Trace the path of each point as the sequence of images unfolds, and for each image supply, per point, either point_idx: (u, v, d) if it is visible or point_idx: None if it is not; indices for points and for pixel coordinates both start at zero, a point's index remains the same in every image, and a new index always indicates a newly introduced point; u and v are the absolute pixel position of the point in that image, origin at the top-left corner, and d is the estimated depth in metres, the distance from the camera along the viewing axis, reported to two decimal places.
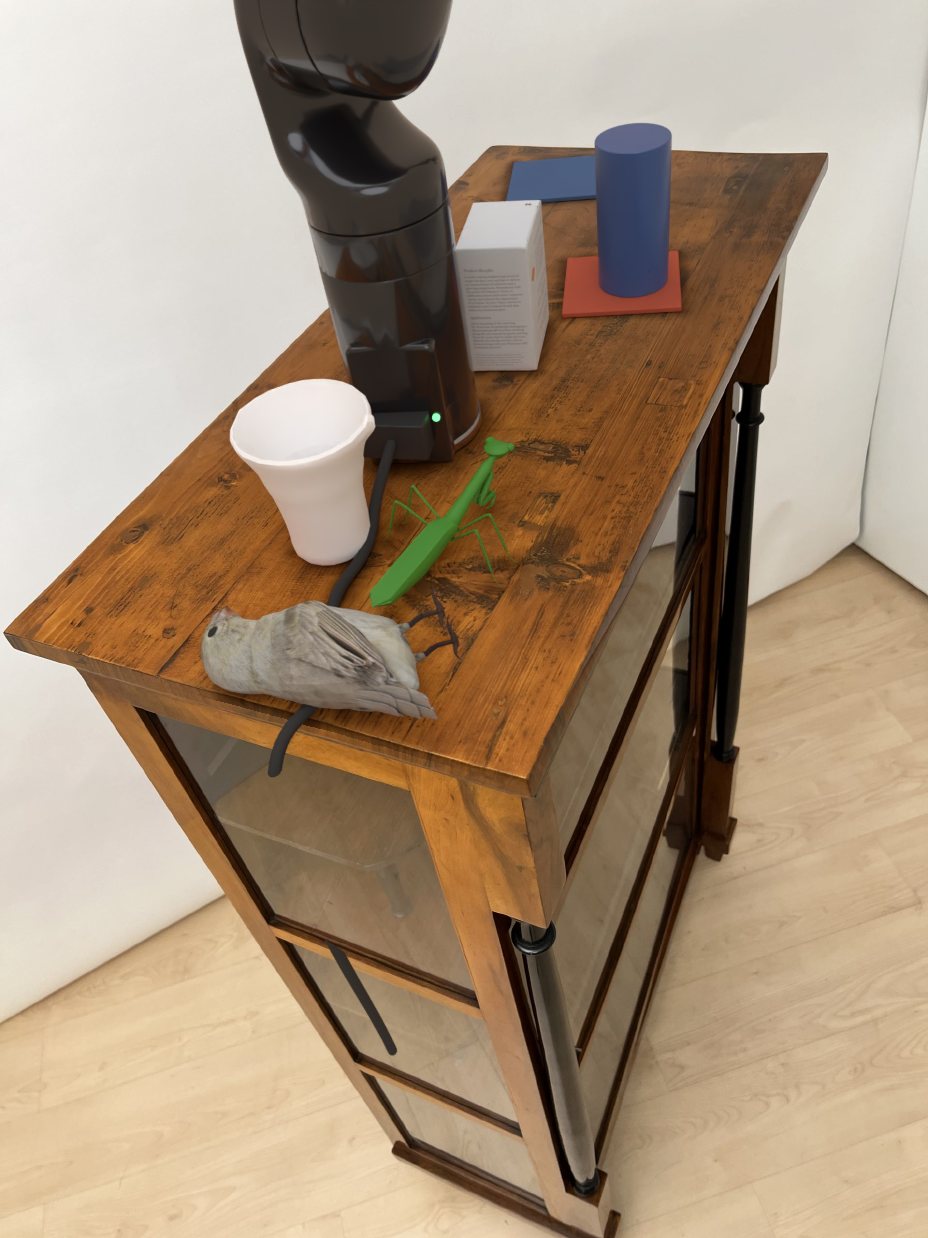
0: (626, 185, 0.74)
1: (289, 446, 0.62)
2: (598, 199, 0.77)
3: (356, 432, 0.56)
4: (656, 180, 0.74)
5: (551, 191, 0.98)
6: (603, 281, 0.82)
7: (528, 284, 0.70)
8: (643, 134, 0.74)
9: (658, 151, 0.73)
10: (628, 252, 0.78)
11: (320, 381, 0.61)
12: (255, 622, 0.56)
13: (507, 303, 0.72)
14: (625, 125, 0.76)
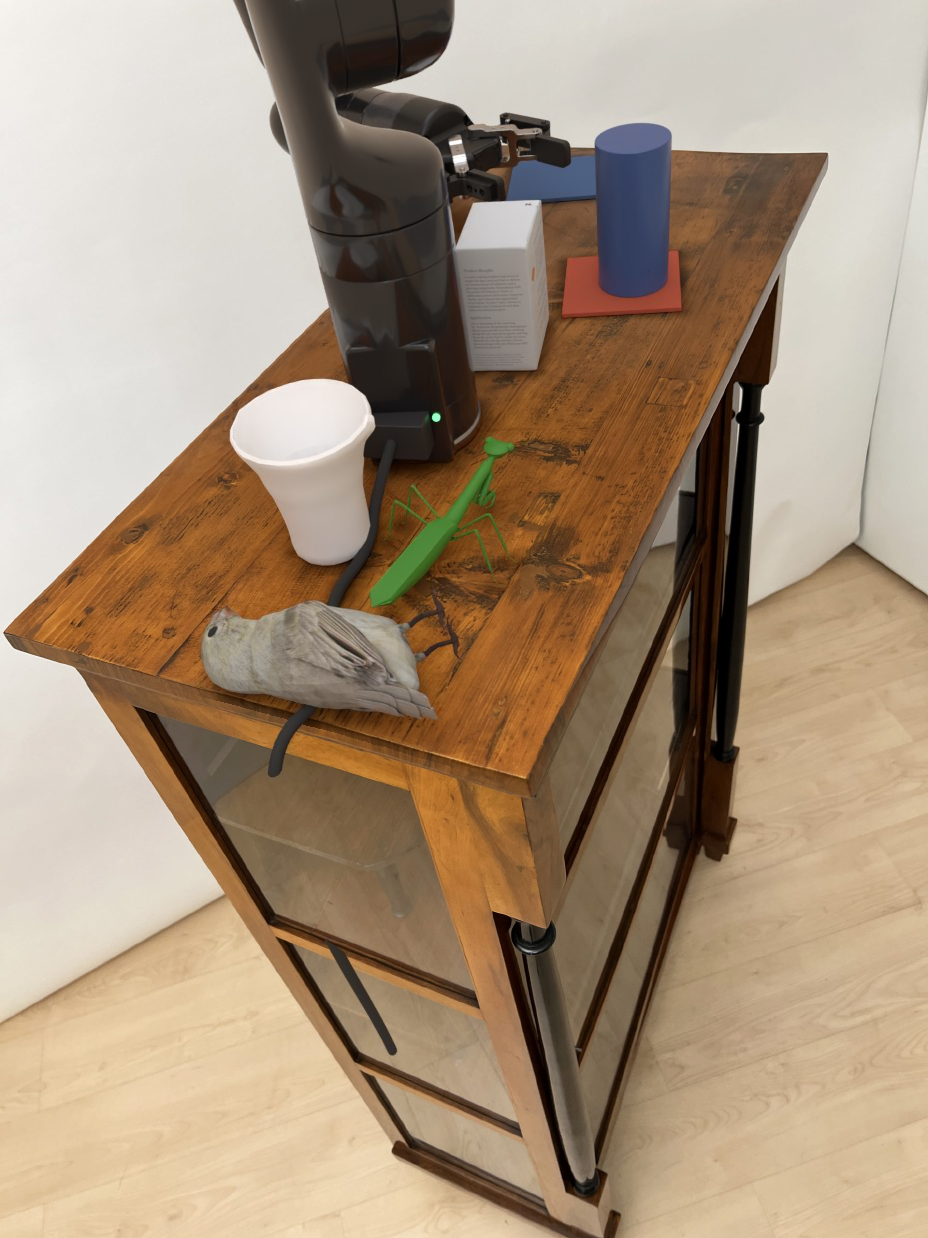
0: (626, 185, 0.74)
1: (289, 446, 0.62)
2: (598, 199, 0.77)
3: (356, 432, 0.56)
4: (656, 180, 0.74)
5: (551, 191, 0.98)
6: (603, 281, 0.82)
7: (528, 284, 0.70)
8: (643, 134, 0.74)
9: (658, 151, 0.73)
10: (628, 252, 0.78)
11: (320, 381, 0.61)
12: (255, 622, 0.56)
13: (507, 303, 0.72)
14: (625, 125, 0.76)
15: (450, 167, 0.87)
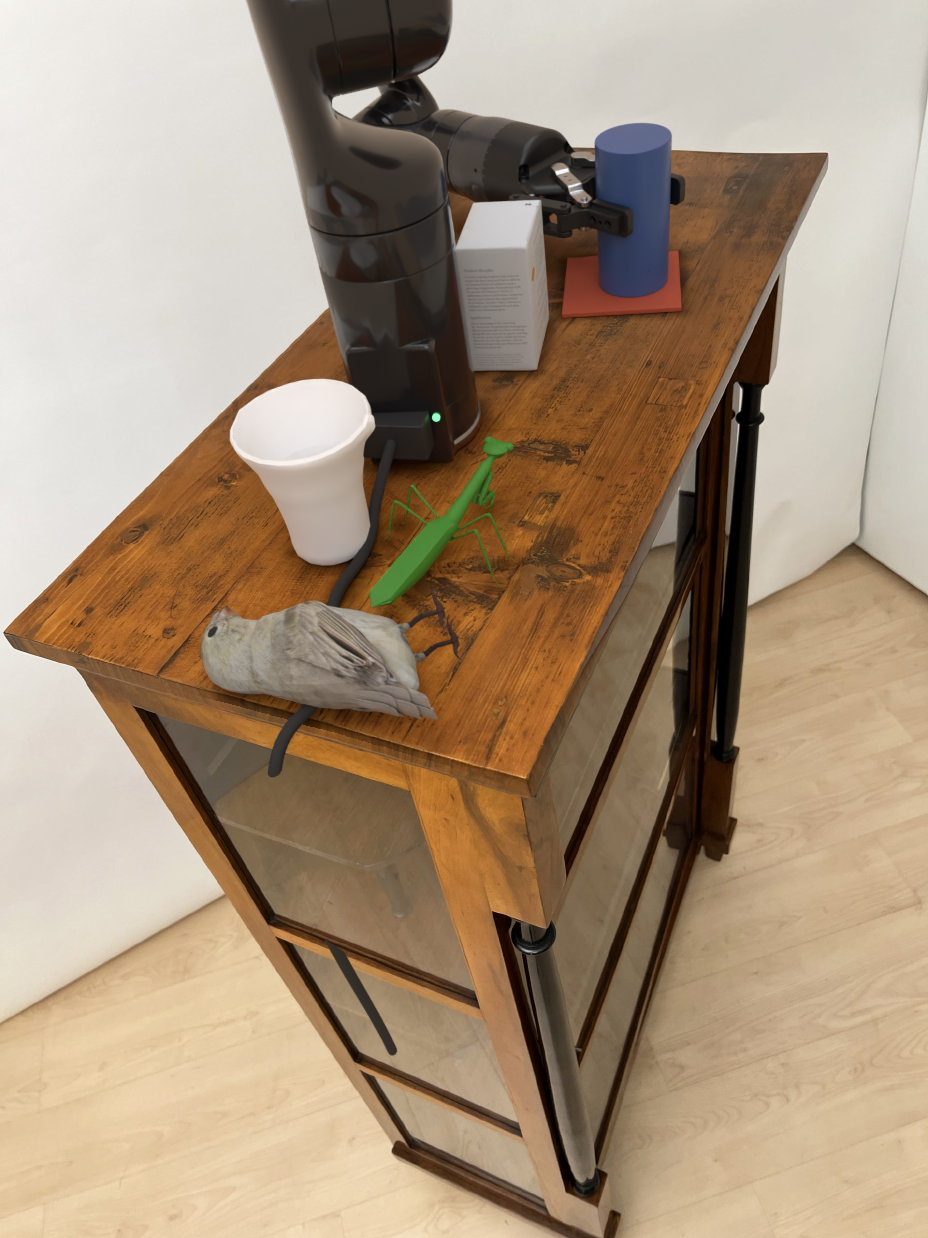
0: (626, 185, 0.74)
1: (289, 446, 0.62)
2: None
3: (356, 432, 0.56)
4: (656, 180, 0.74)
5: None
6: (603, 281, 0.82)
7: (528, 284, 0.70)
8: (643, 134, 0.74)
9: (658, 151, 0.73)
10: (628, 252, 0.78)
11: (320, 381, 0.61)
12: (255, 622, 0.56)
13: (507, 303, 0.72)
14: (625, 125, 0.76)
15: (553, 199, 0.80)
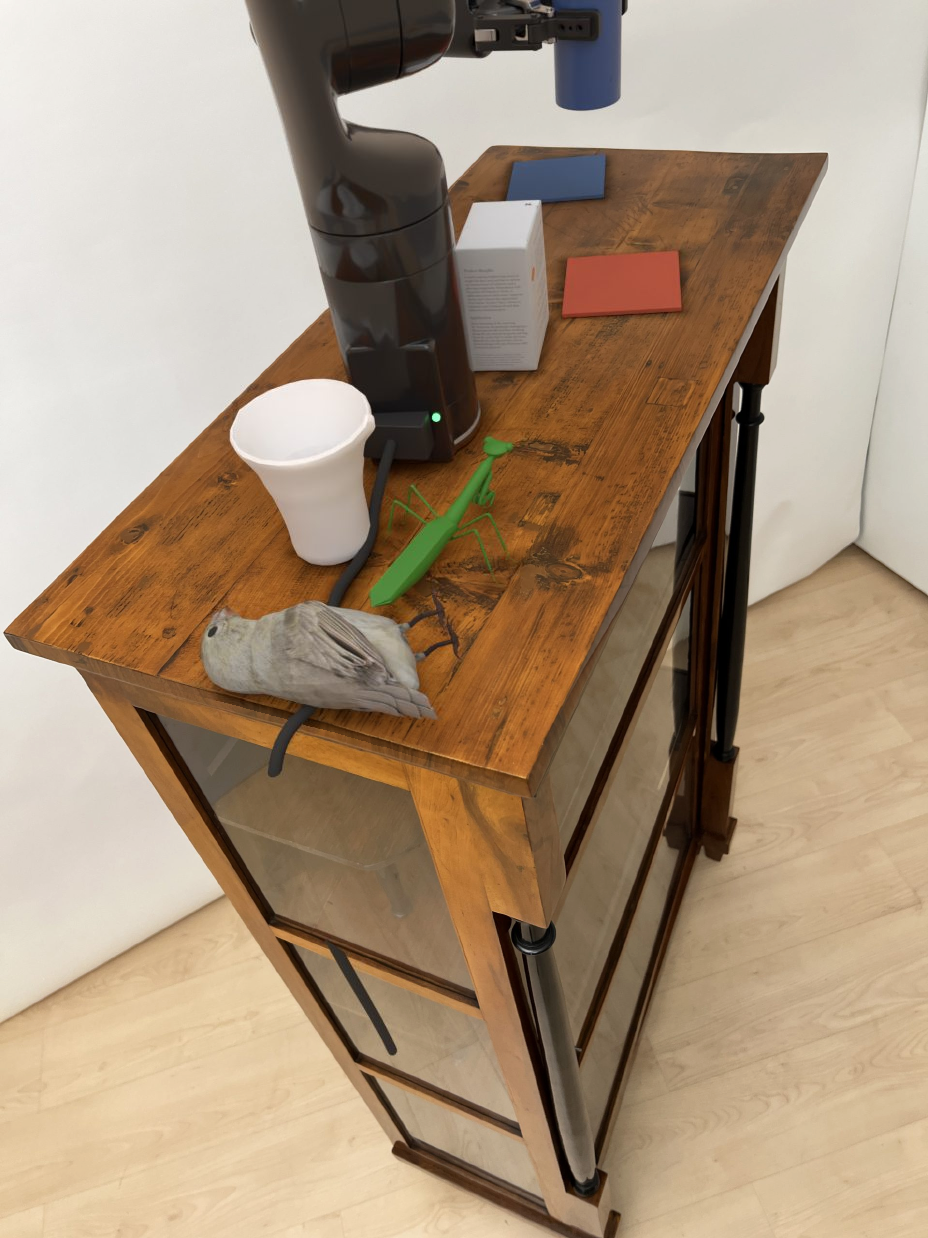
0: None
1: (289, 446, 0.62)
2: None
3: (356, 432, 0.56)
4: None
5: (551, 191, 0.98)
6: (566, 99, 0.86)
7: (528, 284, 0.70)
8: None
9: None
10: (593, 60, 0.83)
11: (320, 381, 0.61)
12: (255, 622, 0.56)
13: (507, 303, 0.72)
14: None
15: None
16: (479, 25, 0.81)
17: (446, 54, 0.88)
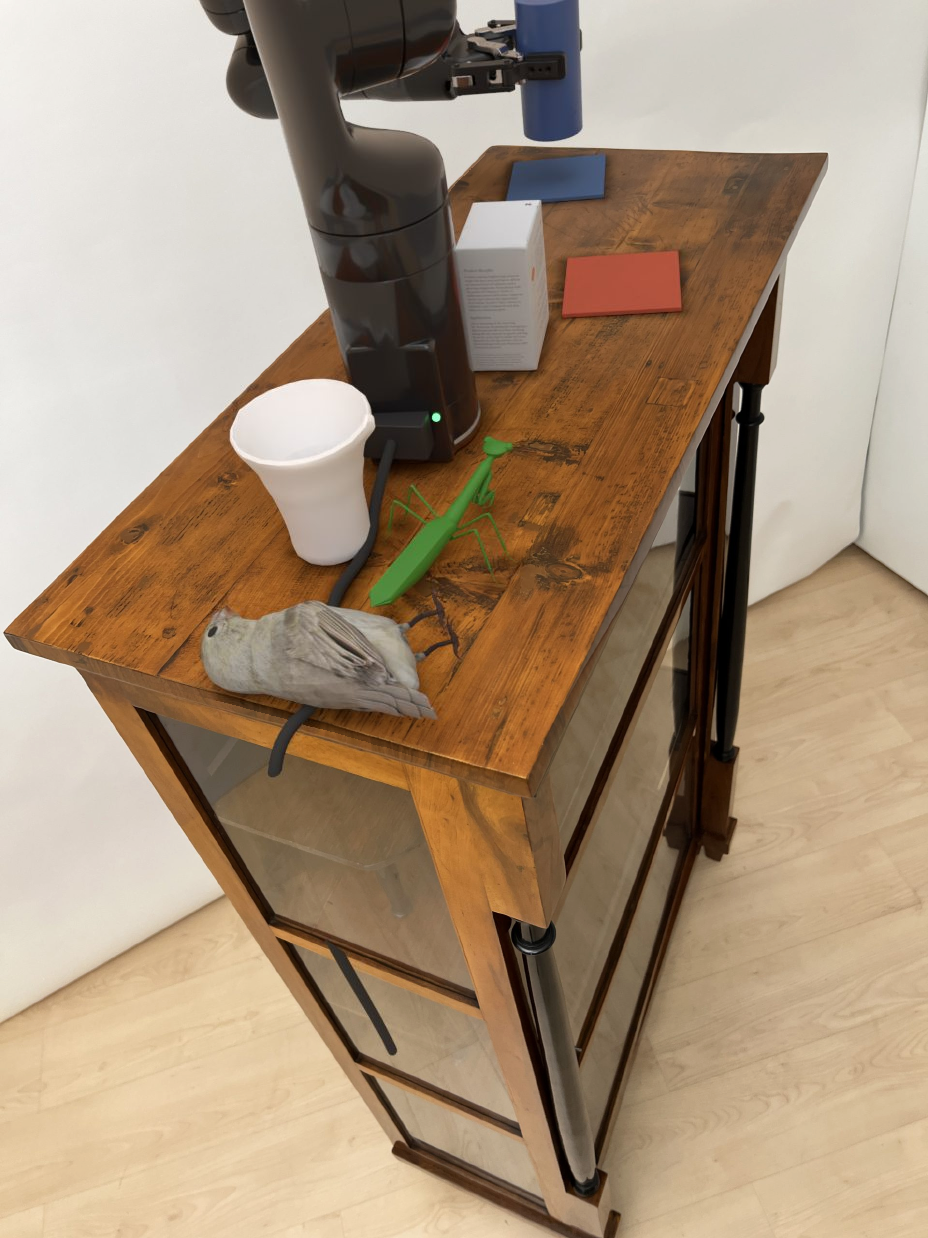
0: (555, 32, 0.87)
1: (289, 446, 0.62)
2: None
3: (356, 432, 0.56)
4: (576, 25, 0.88)
5: (551, 191, 0.98)
6: (536, 132, 0.94)
7: (528, 284, 0.70)
8: None
9: None
10: (560, 96, 0.91)
11: (320, 381, 0.61)
12: (255, 622, 0.56)
13: (507, 303, 0.72)
14: None
15: None
16: (457, 72, 0.89)
17: (419, 99, 0.96)
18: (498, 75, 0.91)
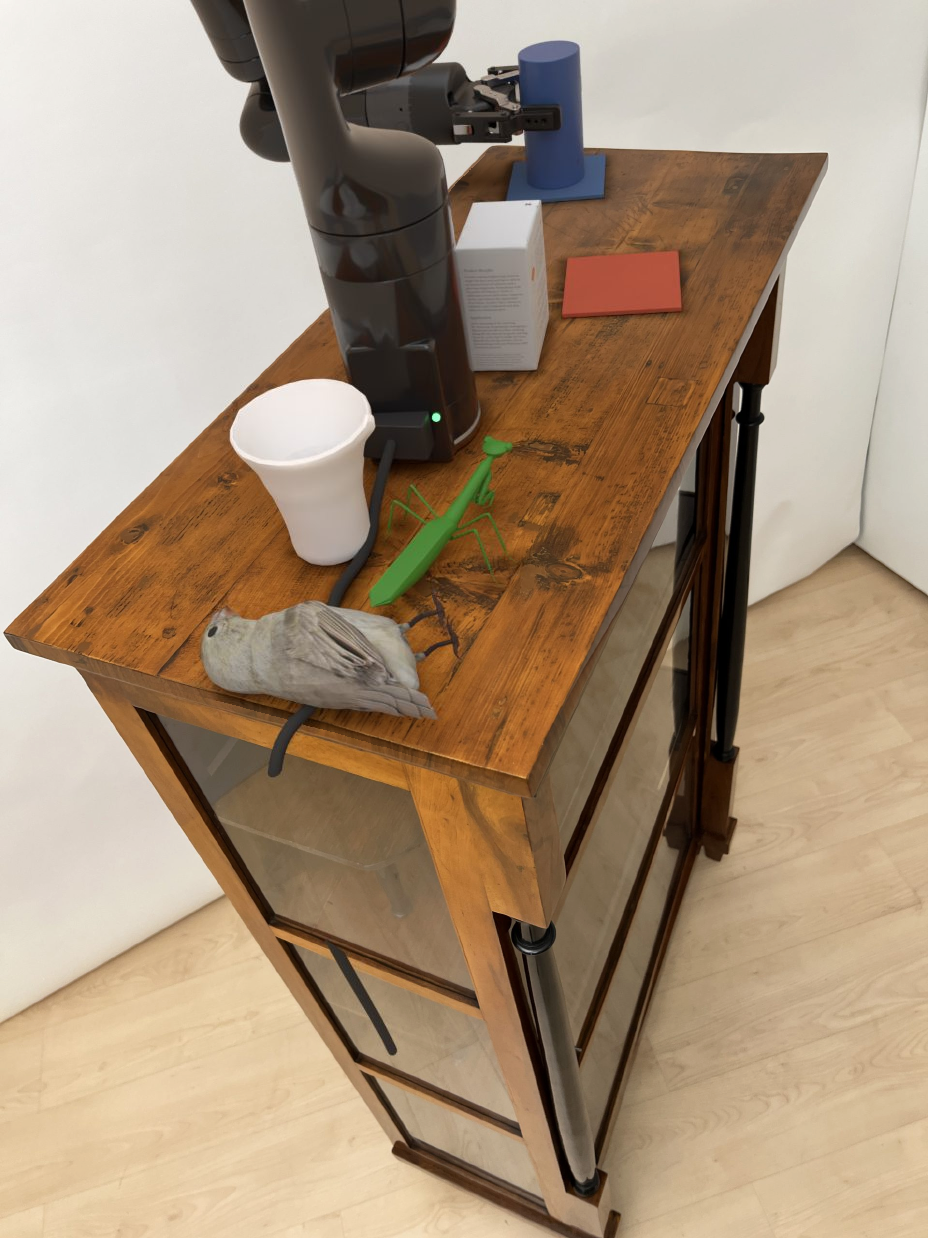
0: (558, 87, 0.91)
1: (289, 446, 0.62)
2: None
3: (356, 432, 0.56)
4: (577, 80, 0.92)
5: (551, 191, 0.98)
6: (540, 180, 0.98)
7: (528, 284, 0.70)
8: (554, 47, 0.92)
9: (577, 54, 0.90)
10: (562, 147, 0.95)
11: (320, 381, 0.61)
12: (255, 622, 0.56)
13: (507, 303, 0.72)
14: (531, 45, 0.93)
15: None
16: (456, 121, 0.92)
17: None
18: (498, 124, 0.94)
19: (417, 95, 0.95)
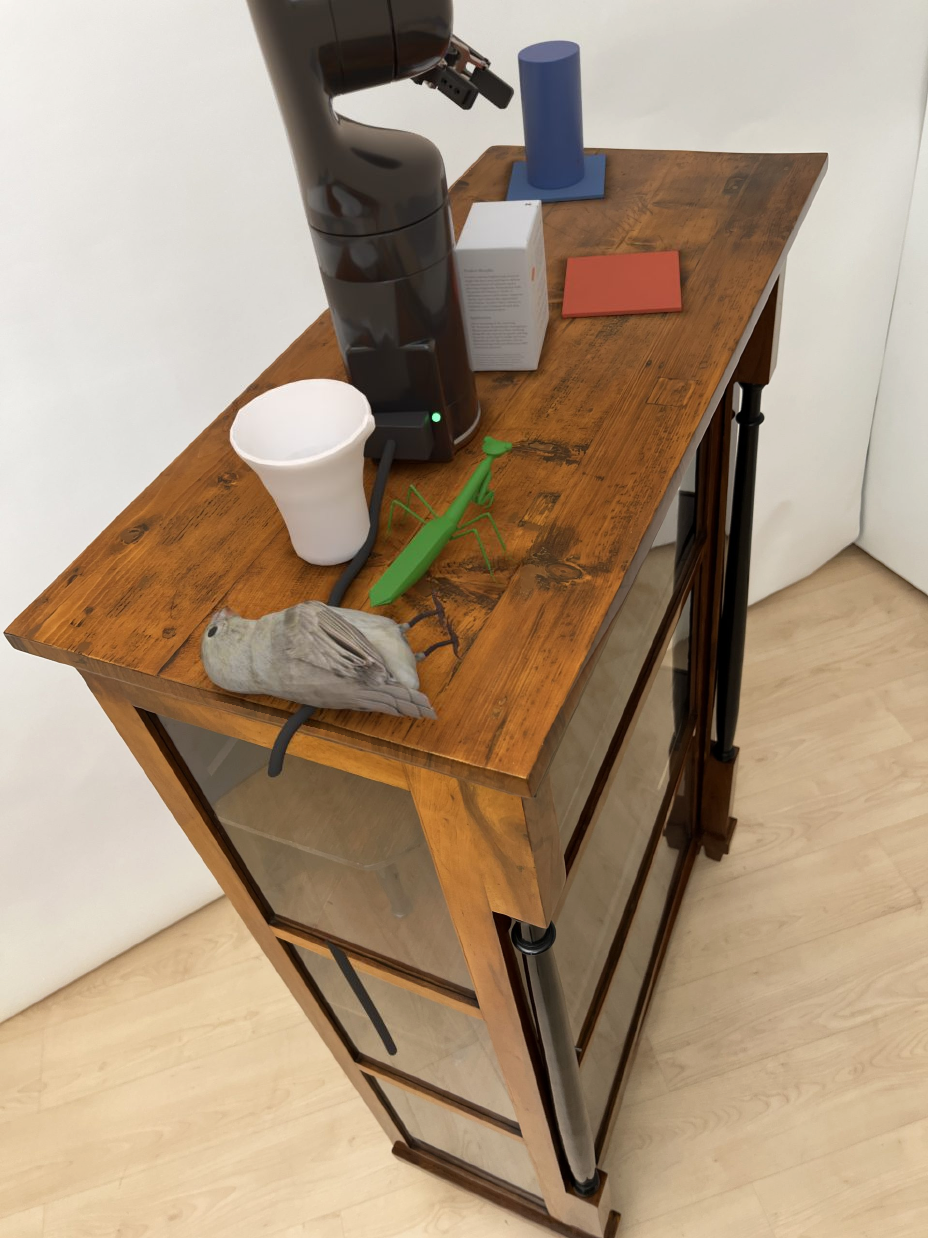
0: (558, 87, 0.91)
1: (289, 446, 0.62)
2: (530, 107, 0.93)
3: (356, 432, 0.56)
4: (577, 80, 0.92)
5: (551, 191, 0.98)
6: (540, 180, 0.98)
7: (528, 284, 0.70)
8: (554, 47, 0.92)
9: (577, 54, 0.90)
10: (562, 147, 0.95)
11: (320, 381, 0.61)
12: (255, 622, 0.56)
13: (507, 303, 0.72)
14: (531, 45, 0.93)
15: None
16: None
17: None
18: None
19: None
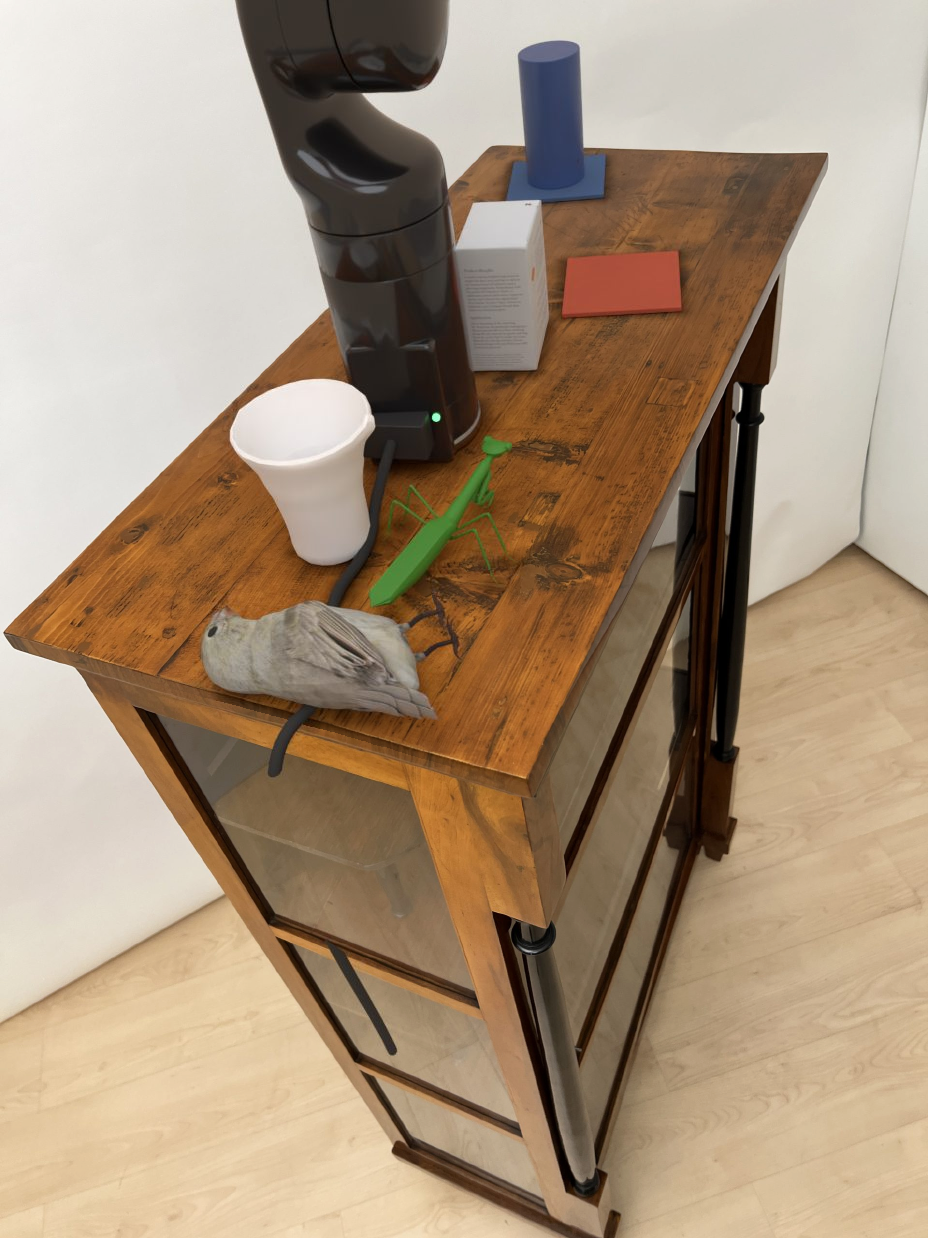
0: (558, 87, 0.91)
1: (289, 446, 0.62)
2: (530, 107, 0.93)
3: (356, 432, 0.56)
4: (577, 80, 0.92)
5: (551, 191, 0.98)
6: (540, 180, 0.98)
7: (528, 284, 0.70)
8: (554, 47, 0.92)
9: (577, 54, 0.90)
10: (562, 147, 0.95)
11: (320, 381, 0.61)
12: (255, 622, 0.56)
13: (507, 303, 0.72)
14: (531, 45, 0.93)
15: None
16: None
17: None
18: None
19: None
